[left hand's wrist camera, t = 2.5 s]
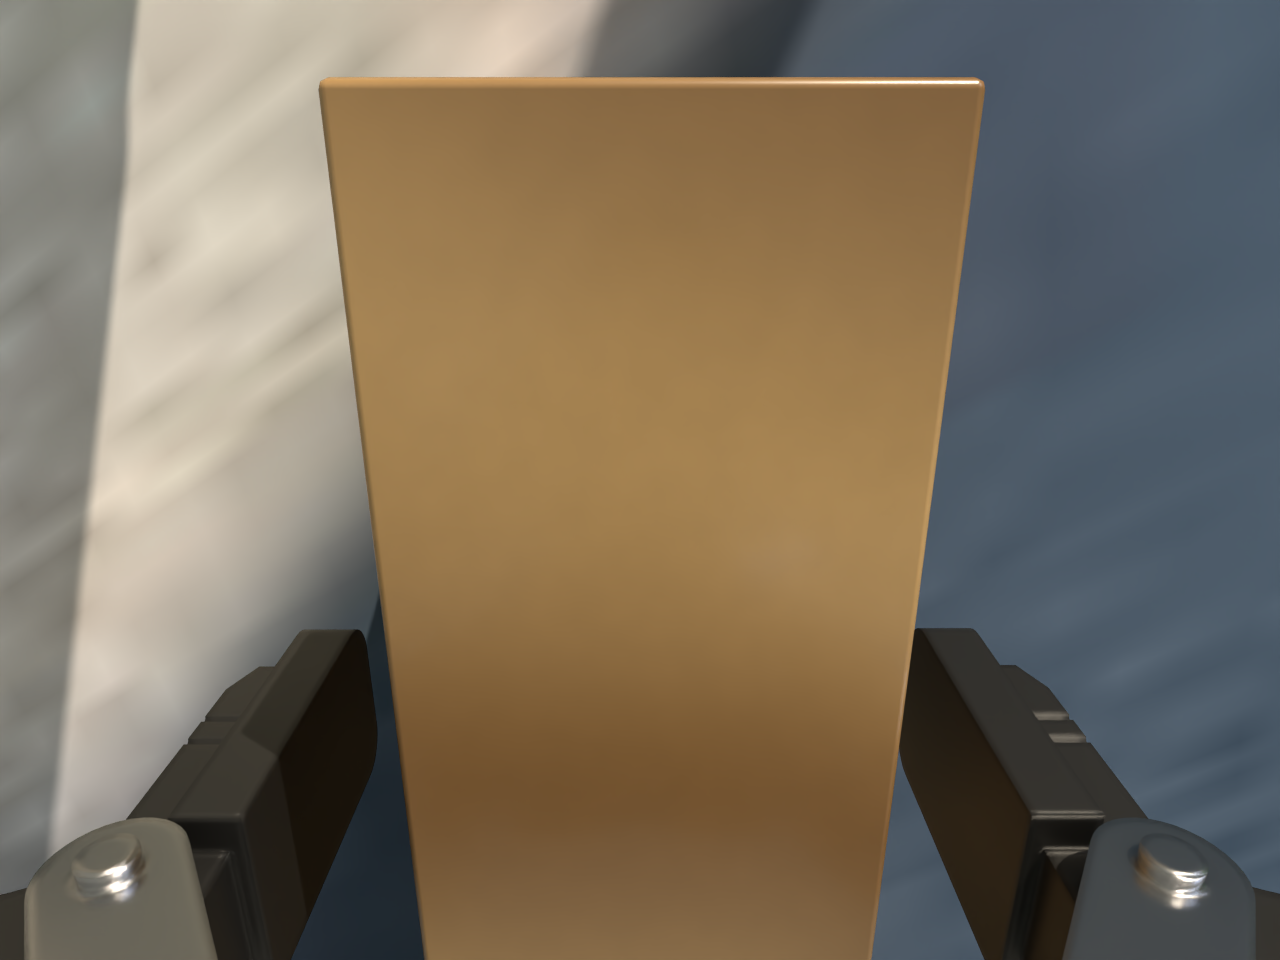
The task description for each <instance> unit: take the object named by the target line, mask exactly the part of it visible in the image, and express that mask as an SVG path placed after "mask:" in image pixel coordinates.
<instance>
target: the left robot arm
mask: <svg viewBox="0 0 1280 960" xmlns="http://www.w3.org/2000/svg"><path fill="white" fill-rule="evenodd" d="M205 717H206V719H205V722H201V723H200V724H199V725H198V727H197V728H196V729H195V731H194V732H193V733H192V735H191V736H190V737H189V738H188V744H187V745H183V746H182V748H181V749H180V750H179V751H178V753H177V754H176V755H175V757H174V758H173V759H172V760H171V762H170V763H169V764H168V766H167V767H166V768H165V770H164V771H163V772H162V773H161V775H160V776H159V777H158V779H157V780H156V781H155V783H154V784H153V785H152V786H151V788H150V789H149V790H148V792H147V793H146V794H145V796H144V797H143V798H142V799H141V801H140V802H139V803H138V805H137V806H136V807H135V809H134V810H133V811H132V812H131V814H130V815H129V816H128V818H127V819H126V820H123V821H119V822H115V823H112V824H109V825H106V826H103V827H100V828H98V829H95V830H93V831H91V832H89V833H87V834H85V835H83V836H81V837H79V838H77V839H75V840H74V841H72V842H71V843H69V844H67V845H66V846H64V847H63V848H62V849H60V850H59V851H58V852H56V853H55V854H54V855H53V856H52V857H50V858H49V859H48V860H47V861H46V862H45V863H44V864H43V865H42V866H41V868H40V869H39V870H38V871H37V872H36V873H35V875H34V877H33V878H32V880H31V881H30V883H29V885H28V888H25V889H21V890H18V891H14V892H11V893H7V894H2V895H0V960H291V958H292V955H293V953H294V951H295V949H296V946H297V944H298V942H299V939H300V937H301V935H302V932H303V930H304V928H305V925H306V923H307V921H308V918H309V916H310V914H311V912H312V909H313V907H314V905H315V902H316V900H317V898H318V895H319V893H320V891H321V888H322V886H323V884H324V881H325V879H326V877H327V875H328V872H329V870H330V868H331V865H332V863H333V861H334V858H335V856H336V854H337V851H338V849H339V847H340V844H341V842H342V840H343V838H344V835H345V833H346V831H347V828H348V826H349V824H350V821H351V819H352V817H353V814H354V812H355V810H356V807H357V805H358V803H359V801H360V798H361V796H362V794H363V791H364V789H365V787H366V784H367V782H368V780H369V777H370V775H371V772H372V769H373V766H374V761H375V756H376V749H377V721H376V714H375V706H374V698H373V691H372V683H371V676H370V668H369V660H368V653H367V646H366V641H365V638H364V635H363V633H362V632H361V631H360V630H302V631H301V632H299V634H298V635H297V636H296V637H295V639H294V640H293V642H292V643H291V645H290V646H289V647H288V649H287V650H286V652H285V653H284V654H283V656H282V657H281V659H280V660H279V661H278V663H277V664H276V666H275V667H258V668H257V669H255V670H254V671H252V672H251V673H249V674H248V675H247V676H245V677H244V678H242V679H241V680H239V681H238V682H236V683H235V684H234V685H232V686H231V687H229V688H228V689H226V690H225V692H224V693H223V694H222V696H221V697H220V698H219V699H218V701H217V702H216V703H215V705H214V706H213V707H212V709H211V710H210V711H209V712H208V714H207V715H206V716H205ZM899 750H900V756H901V761H902V765H903V769H904V772H905V774H906V777H907V779H908V781H909V784H910V786H911V788H912V791H913V793H914V795H915V798H916V800H917V802H918V805H919V807H920V809H921V812H922V814H923V817H924V819H925V821H926V824H927V826H928V828H929V831H930V833H931V835H932V838H933V840H934V842H935V845H936V847H937V849H938V852H939V854H940V856H941V859H942V861H943V863H944V866H945V868H946V870H947V873H948V875H949V877H950V880H951V882H952V885H953V887H954V889H955V892H956V894H957V896H958V899H959V901H960V903H961V906H962V908H963V910H964V913H965V915H966V917H967V920H968V922H969V924H970V927H971V929H972V931H973V934H974V936H975V938H976V941H977V943H978V945H979V948H980V950H981V952H982V955H983V957H984V960H1280V894H1278V893H1274V892H1270V891H1265V890H1261V889H1258V888H1254V887H1252V885H1251V883H1250V881H1249V880H1248V878H1247V877H1246V875H1245V873H1244V872H1243V871H1242V870H1241V869H1240V868H1239V866H1238V865H1237V864H1236V863H1235V862H1234V861H1233V860H1232V859H1231V858H1230V857H1228V856H1227V855H1226V854H1225V853H1224V852H1222V851H1221V850H1220V849H1218V848H1217V847H1216V846H1214V845H1213V844H1211V843H1209V842H1208V841H1206V840H1205V839H1203V838H1201V837H1199V836H1197V835H1195V834H1193V833H1191V832H1189V831H1187V830H1185V829H1182V828H1180V827H1177V826H1174V825H1171V824H1168V823H1165V822H1161V821H1157V820H1152V819H1148V818H1147V816H1146V815H1145V814H1144V813H1143V811H1142V810H1141V809H1140V807H1139V806H1138V805H1137V803H1136V802H1135V801H1134V799H1133V798H1132V797H1131V795H1130V794H1129V793H1128V792H1127V790H1126V789H1125V788H1124V786H1123V785H1122V784H1121V782H1120V781H1119V780H1118V778H1117V777H1116V776H1115V774H1114V773H1113V772H1112V771H1111V769H1110V768H1109V767H1108V765H1107V764H1106V763H1105V761H1104V760H1103V759H1102V757H1101V756H1100V755H1099V753H1098V752H1097V751H1096V750H1095V748H1094V747H1093V746H1092V744H1091V743H1087V742H1086V736H1085V735H1084V734H1083V732H1082V731H1081V730H1080V729H1079V727H1078V726H1077V725H1076V723H1075V722H1074V721H1073V720H1069V714H1068V713H1067V711H1066V710H1065V709H1064V708H1063V706H1062V705H1061V704H1060V702H1059V701H1058V700H1057V698H1056V697H1055V696H1054V694H1053V693H1052V692H1051V690H1050V689H1049V688H1048V687H1046V686H1045V685H1044V684H1042V683H1041V682H1039V681H1038V680H1036V679H1035V678H1033V677H1032V676H1030V675H1029V674H1028V673H1026V672H1025V671H1023V670H1022V669H1020V668H1019V667H1017V666H1016V665H999V663H998V662H997V660H996V659H995V657H994V656H993V655H992V653H991V652H990V650H989V649H988V647H987V646H986V645H985V643H984V642H983V640H982V639H981V637H980V636H979V635H978V633H977V632H976V631H975V630H974V629H971V628H917V629H915V630H914V636H913V644H912V651H911V659H910V667H909V674H908V682H907V690H906V697H905V705H904V713H903V720H902V728H901V736H900V743H899Z"/></svg>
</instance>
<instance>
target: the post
mask: <svg viewBox="0 0 1280 960" xmlns="http://www.w3.org/2000/svg"><path fill="white" fill-rule="evenodd" d="M984 94H985V87H984V82H983V81H982V80H980V79H977V78H975V77H328V78H326V79H324V80H322V81H320V85H319V98H320V106H321V114H322V123H323V131H324V139H325V147H326V156H327V164H328V172H329V180H330V189H331V197H332V205H333V213H334V221H335V230H336V238H337V246H338V254H339V263H340V271H341V279H342V287H343V295H344V304H345V312H346V320H347V328H348V337H349V345H350V353H351V361H352V370H353V378H354V386H355V394H356V402H357V411H358V419H359V427H360V435H361V444H362V452H363V460H364V468H365V476H366V485H367V493H368V501H369V509H370V518H371V526H372V534H373V542H374V551H375V559H376V567H377V575H378V583H379V592H380V600H381V608H382V616H383V625H384V633H385V641H386V649H387V657H388V666H389V674H390V682H391V690H392V699H393V707H394V715H395V723H396V731H397V740H398V748H399V756H400V764H401V773H402V781H403V789H404V797H405V806H406V814H407V822H408V830H409V838H410V847H411V855H412V863H413V871H414V880H415V888H416V896H417V904H418V912H419V921H420V929H421V937H422V945H423V954H424V960H871V957H872V949H873V942H874V934H875V927H876V919H877V911H878V904H879V896H880V888H881V881H882V873H883V865H884V858H885V850H886V842H887V835H888V827H889V820H890V812H891V804H892V797H893V789H894V781H895V774H896V766H897V758H898V751H899V743H900V736H901V728H902V720H903V713H904V705H905V697H906V690H907V682H908V674H909V667H910V659H911V651H912V644H913V636H914V629H915V621H916V613H917V606H918V598H919V590H920V583H921V575H922V567H923V560H924V552H925V544H926V537H927V529H928V522H929V514H930V506H931V499H932V491H933V483H934V476H935V468H936V460H937V453H938V445H939V438H940V430H941V422H942V415H943V407H944V399H945V392H946V384H947V376H948V369H949V361H950V353H951V346H952V338H953V331H954V323H955V315H956V308H957V300H958V292H959V285H960V277H961V269H962V262H963V254H964V247H965V239H966V231H967V224H968V216H969V208H970V201H971V193H972V185H973V178H974V170H975V162H976V155H977V147H978V140H979V132H980V124H981V117H982V109H983V101H984Z"/></svg>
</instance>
